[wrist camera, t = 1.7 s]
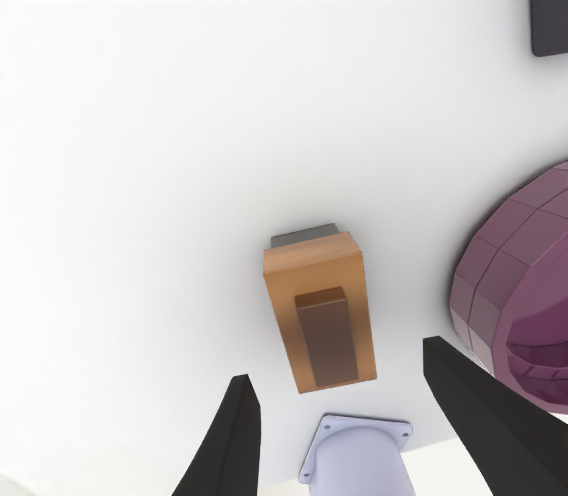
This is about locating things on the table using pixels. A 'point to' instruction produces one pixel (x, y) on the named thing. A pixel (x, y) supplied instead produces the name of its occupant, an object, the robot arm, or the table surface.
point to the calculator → (550, 27)
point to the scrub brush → (321, 307)
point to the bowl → (520, 292)
